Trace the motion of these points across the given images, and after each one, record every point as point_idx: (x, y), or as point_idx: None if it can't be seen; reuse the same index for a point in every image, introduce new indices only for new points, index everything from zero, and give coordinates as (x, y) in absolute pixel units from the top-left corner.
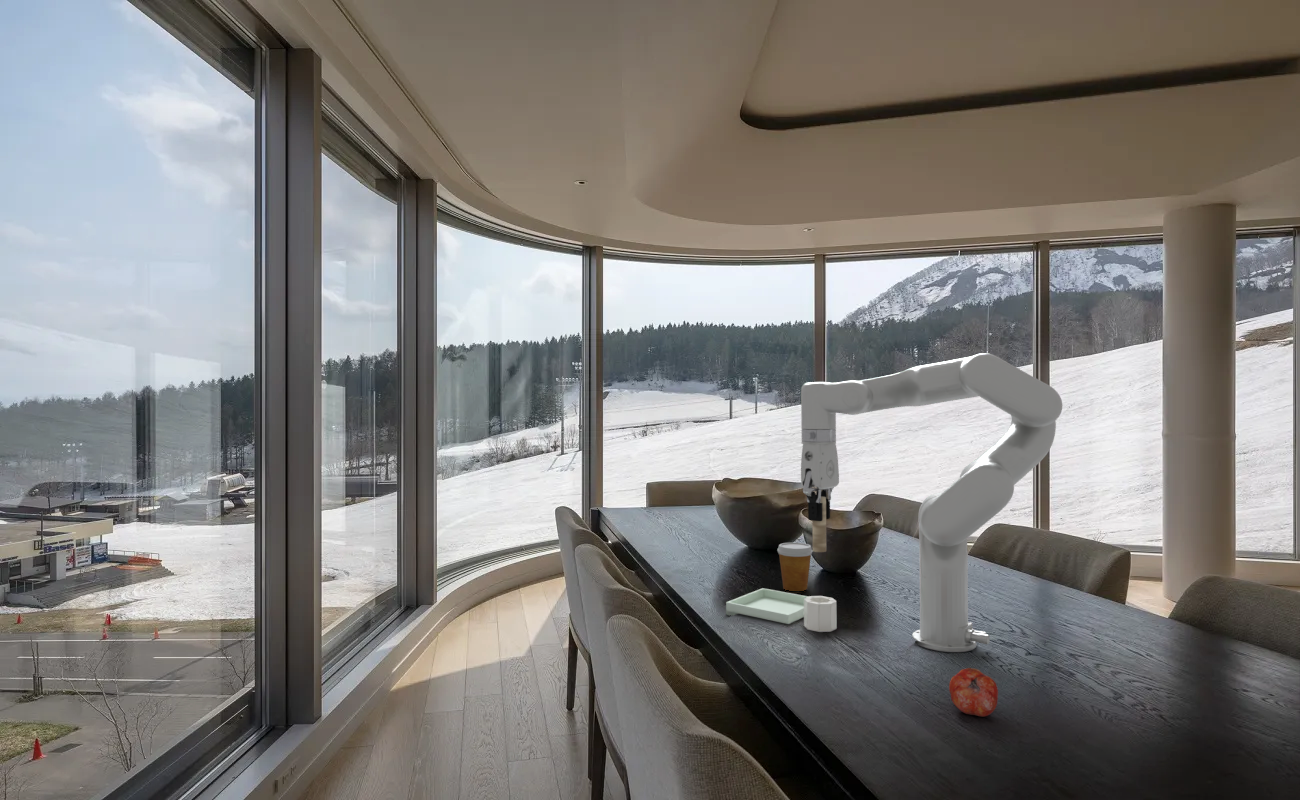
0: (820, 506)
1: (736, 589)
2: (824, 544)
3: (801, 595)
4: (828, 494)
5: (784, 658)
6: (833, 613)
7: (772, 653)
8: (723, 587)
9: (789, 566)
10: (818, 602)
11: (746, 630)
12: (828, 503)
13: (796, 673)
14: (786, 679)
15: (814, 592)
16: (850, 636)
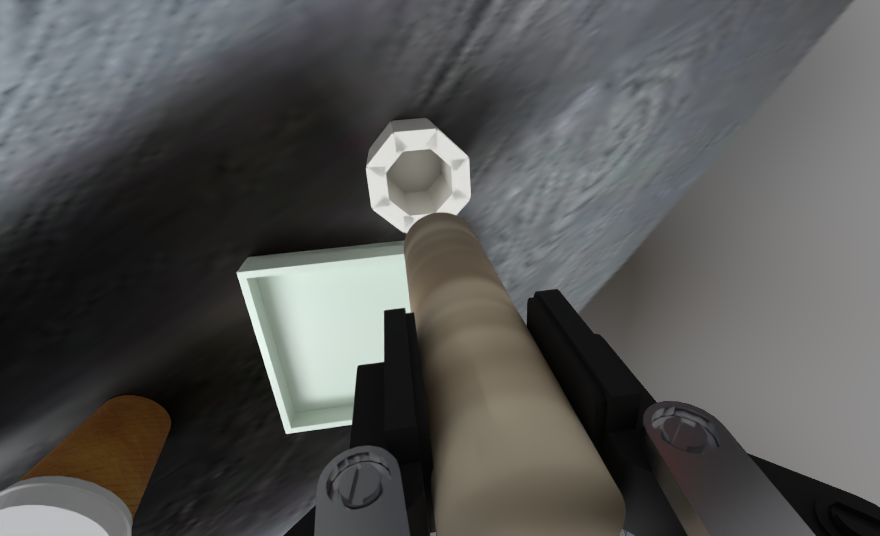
0: (618, 374)
1: (271, 491)
2: (453, 227)
3: (258, 334)
4: (406, 531)
5: (655, 111)
6: (415, 125)
7: (638, 154)
8: (283, 514)
9: (138, 472)
10: (395, 199)
11: (526, 293)
12: (416, 409)
13: (737, 26)
14: (783, 22)
15: (107, 375)
16: (391, 70)
